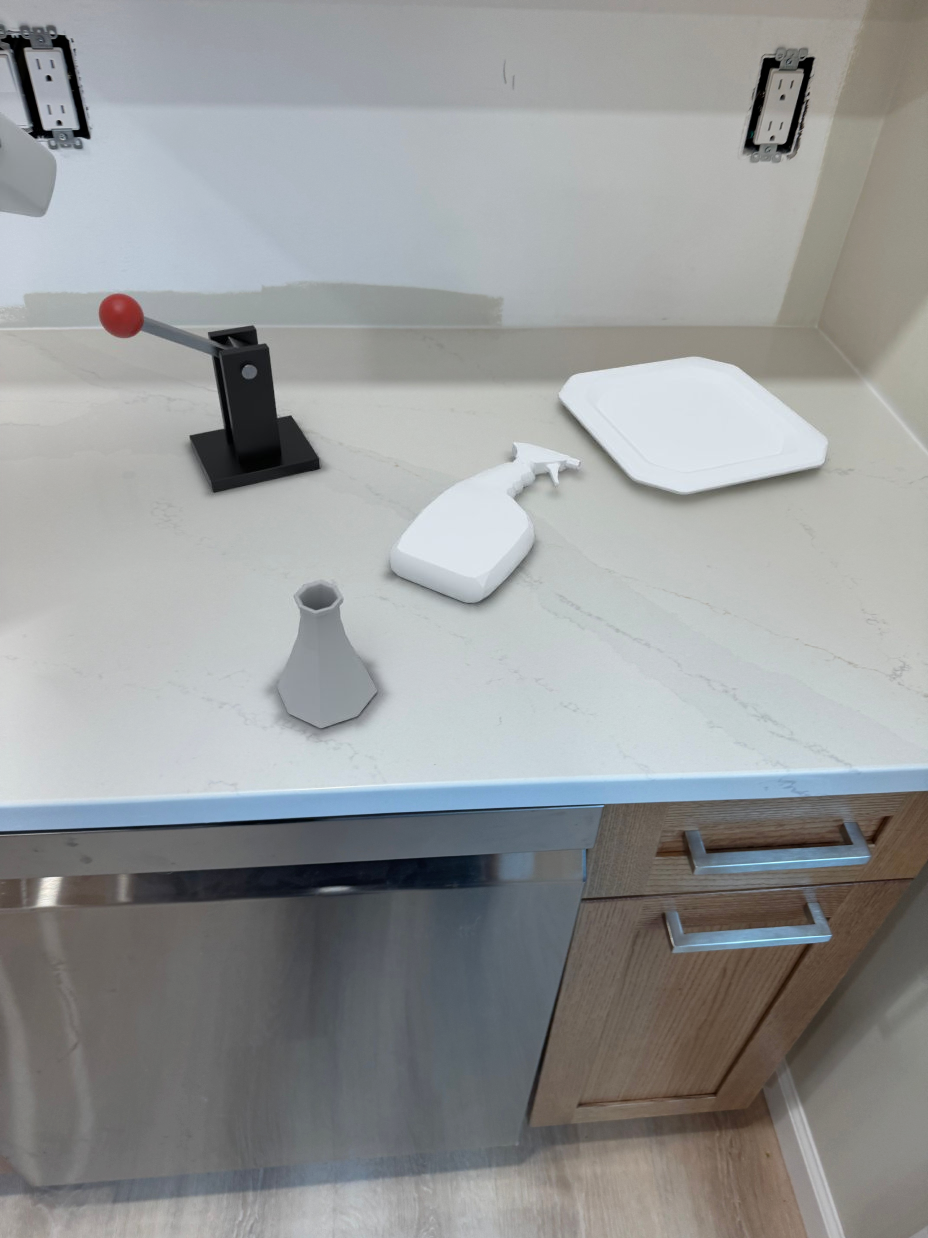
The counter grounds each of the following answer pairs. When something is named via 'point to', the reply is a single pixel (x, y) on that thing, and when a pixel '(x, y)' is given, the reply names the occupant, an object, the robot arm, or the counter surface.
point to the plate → (691, 424)
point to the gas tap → (249, 421)
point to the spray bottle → (476, 528)
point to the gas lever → (152, 326)
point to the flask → (323, 662)
